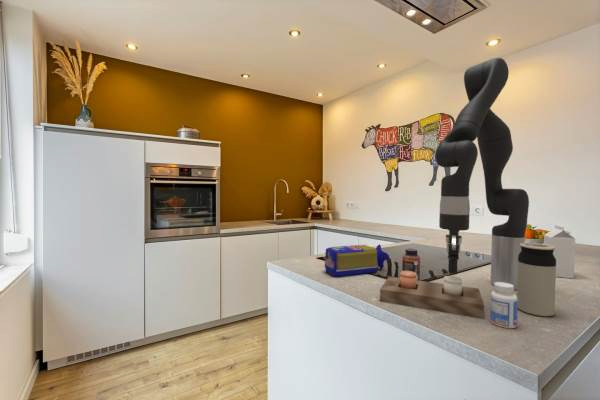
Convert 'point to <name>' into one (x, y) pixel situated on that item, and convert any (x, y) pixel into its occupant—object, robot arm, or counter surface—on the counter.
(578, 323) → the counter surface
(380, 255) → the bread
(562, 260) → the milk carton
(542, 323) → the counter surface
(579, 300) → the counter surface
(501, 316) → the pill bottle
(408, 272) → the orange lidded jar
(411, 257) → the supplement bottle
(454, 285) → the white lidded jar
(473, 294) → the panel
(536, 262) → the travel mug
